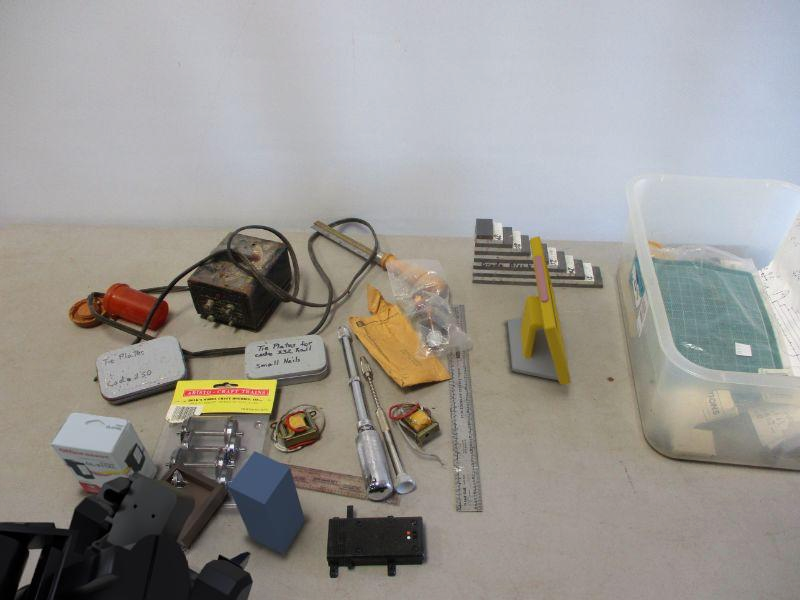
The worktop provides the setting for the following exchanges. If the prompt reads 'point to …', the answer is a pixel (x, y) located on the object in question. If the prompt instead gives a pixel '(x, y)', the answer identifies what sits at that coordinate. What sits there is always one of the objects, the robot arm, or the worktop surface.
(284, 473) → the blue faceted prism
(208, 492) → the base pad
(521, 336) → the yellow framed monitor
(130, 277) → the worktop surface
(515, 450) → the worktop surface
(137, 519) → the robot arm
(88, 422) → the ink box
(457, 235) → the worktop surface
